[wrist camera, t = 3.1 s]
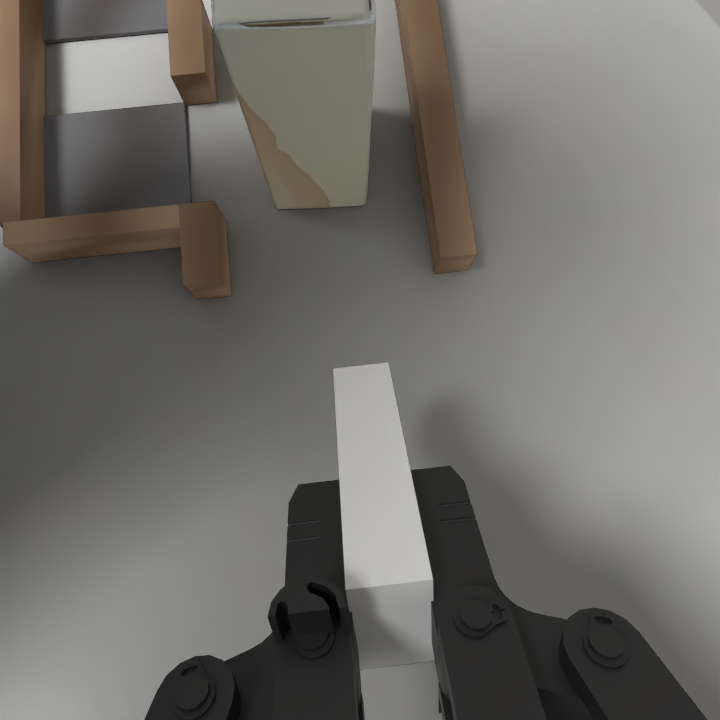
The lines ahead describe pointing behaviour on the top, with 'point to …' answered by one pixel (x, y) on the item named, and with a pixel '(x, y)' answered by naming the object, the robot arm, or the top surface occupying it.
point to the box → (304, 93)
